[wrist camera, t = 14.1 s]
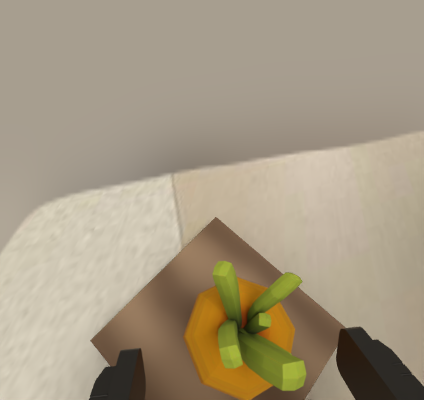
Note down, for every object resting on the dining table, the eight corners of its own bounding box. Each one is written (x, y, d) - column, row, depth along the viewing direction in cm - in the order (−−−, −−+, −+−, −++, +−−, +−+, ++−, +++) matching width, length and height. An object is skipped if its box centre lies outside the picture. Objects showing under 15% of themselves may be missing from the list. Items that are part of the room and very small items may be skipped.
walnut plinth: (214, 228, 28) (215, 217, 26) (331, 330, 24) (347, 329, 22) (103, 340, 23) (90, 340, 21) (227, 493, 19) (231, 518, 17)
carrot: (190, 305, 22) (172, 246, 9) (251, 301, 22) (323, 238, 9) (191, 378, 20) (171, 450, 6) (260, 373, 20) (375, 431, 7)
